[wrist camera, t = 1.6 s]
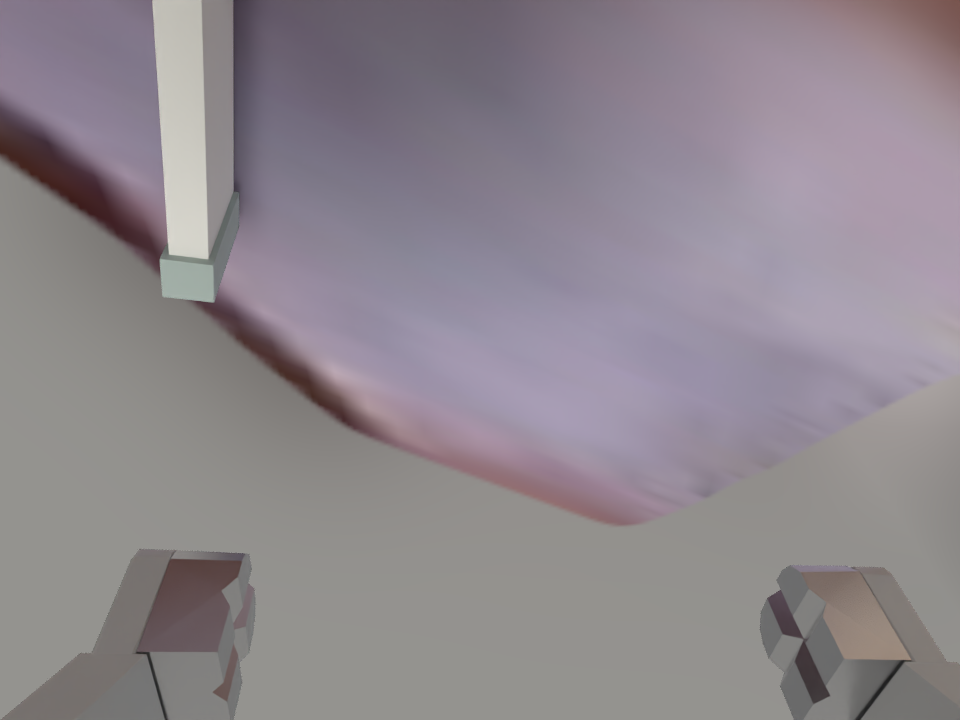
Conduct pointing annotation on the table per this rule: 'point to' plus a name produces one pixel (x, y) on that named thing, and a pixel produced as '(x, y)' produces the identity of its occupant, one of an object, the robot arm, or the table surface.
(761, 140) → the table surface
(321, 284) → the table surface
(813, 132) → the table surface
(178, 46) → the gate
